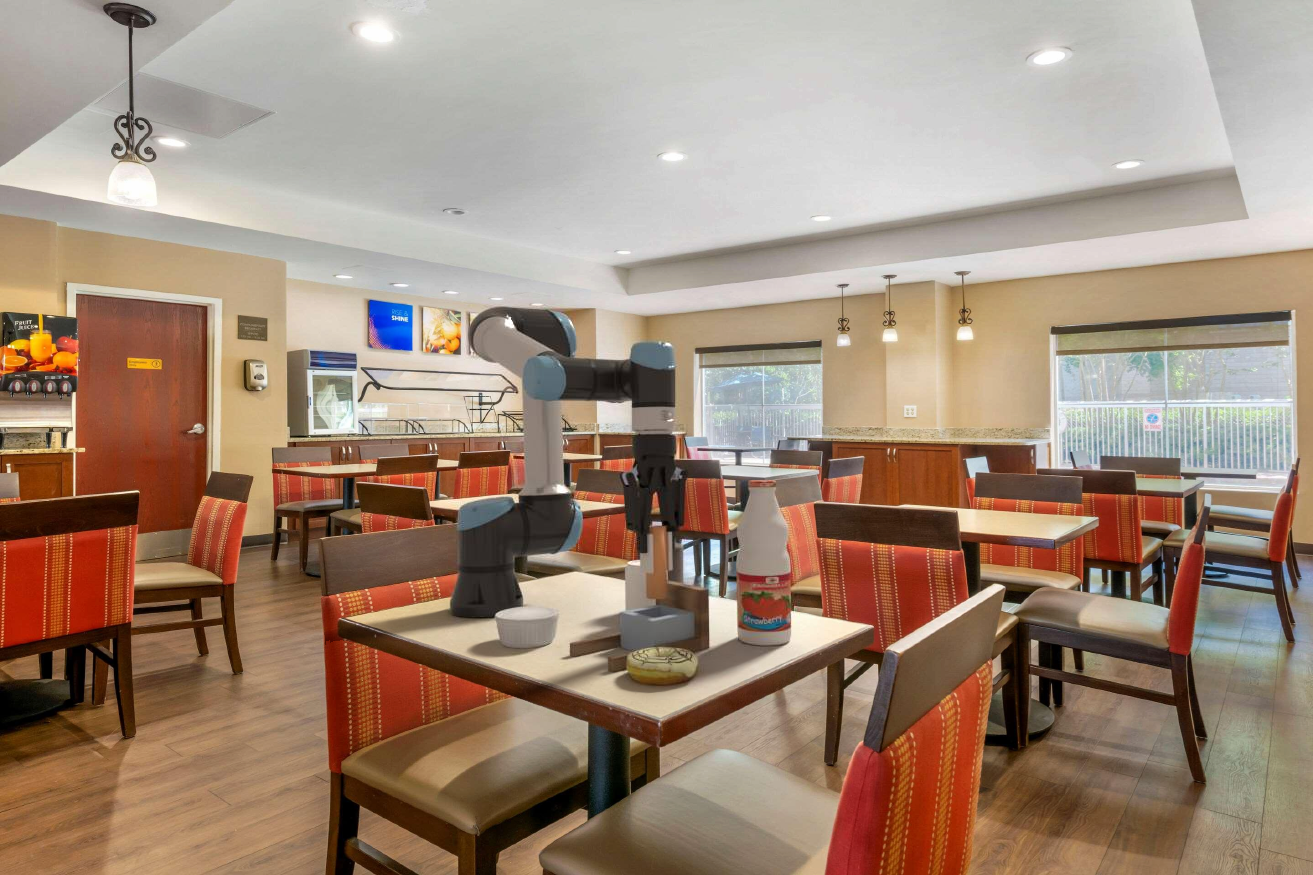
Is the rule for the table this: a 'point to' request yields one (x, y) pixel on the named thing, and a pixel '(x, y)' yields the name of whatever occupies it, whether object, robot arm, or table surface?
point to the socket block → (655, 626)
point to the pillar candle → (675, 564)
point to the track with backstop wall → (678, 598)
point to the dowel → (658, 565)
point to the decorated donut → (662, 665)
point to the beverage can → (636, 587)
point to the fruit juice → (763, 569)
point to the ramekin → (527, 626)
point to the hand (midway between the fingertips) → (656, 570)
